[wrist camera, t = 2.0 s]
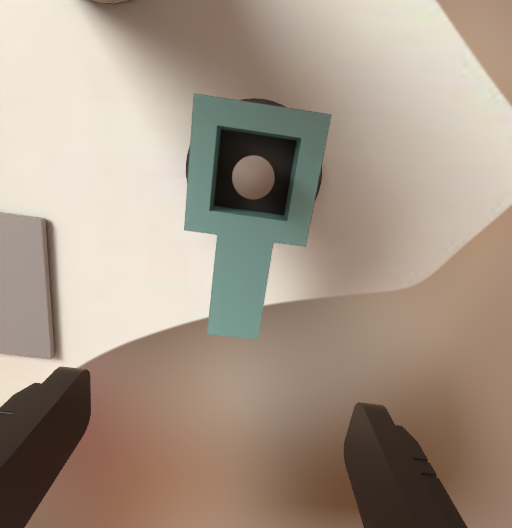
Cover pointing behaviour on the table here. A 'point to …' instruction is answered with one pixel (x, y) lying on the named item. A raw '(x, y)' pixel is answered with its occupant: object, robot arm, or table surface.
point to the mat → (25, 288)
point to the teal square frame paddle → (244, 221)
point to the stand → (254, 170)
